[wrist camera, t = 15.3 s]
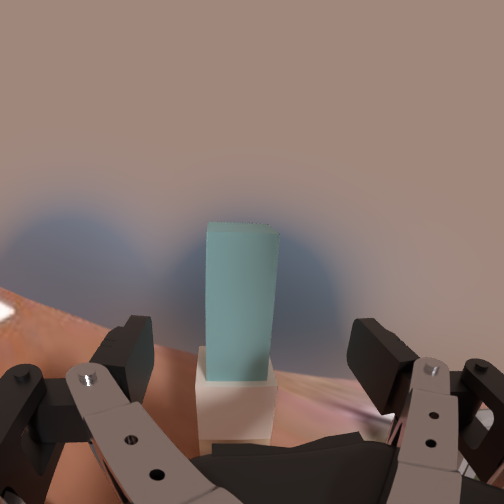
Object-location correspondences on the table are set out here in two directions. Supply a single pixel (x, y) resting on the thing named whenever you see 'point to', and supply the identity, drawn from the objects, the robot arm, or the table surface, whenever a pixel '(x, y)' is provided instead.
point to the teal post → (239, 300)
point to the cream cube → (234, 406)
